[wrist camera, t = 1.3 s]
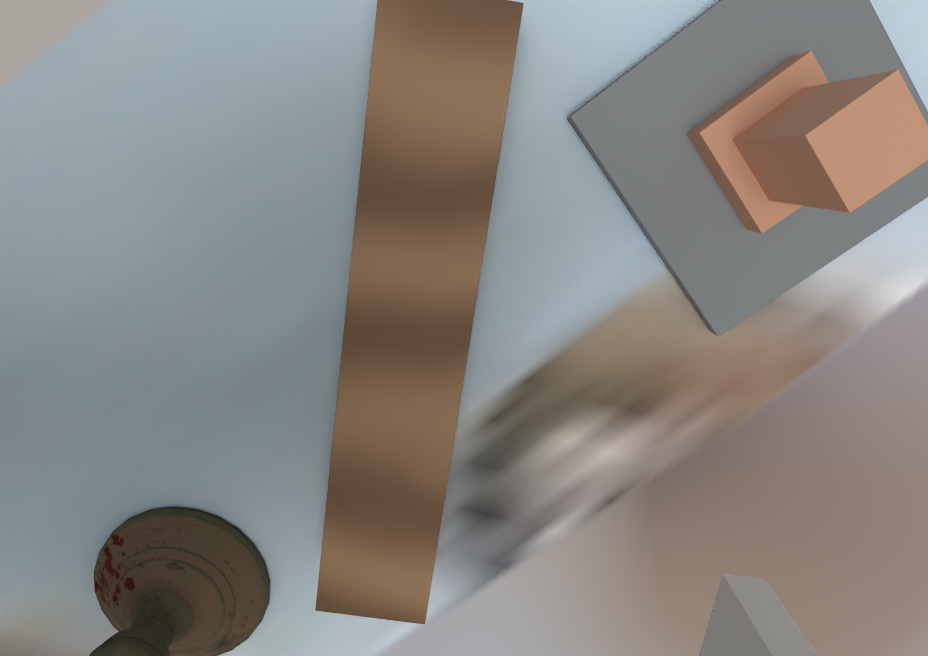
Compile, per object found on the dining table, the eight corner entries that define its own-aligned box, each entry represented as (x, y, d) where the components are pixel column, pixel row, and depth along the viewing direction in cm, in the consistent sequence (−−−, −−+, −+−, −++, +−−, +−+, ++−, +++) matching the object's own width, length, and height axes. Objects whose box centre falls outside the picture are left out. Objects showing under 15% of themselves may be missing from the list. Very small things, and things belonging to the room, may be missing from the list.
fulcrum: (710, 330, 30) (797, 393, 22) (567, 118, 27) (608, 103, 19) (943, 174, 28) (1129, 181, 20) (813, -72, 25) (969, -172, 17)
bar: (430, 556, 33) (424, 624, 28) (337, 543, 33) (315, 610, 28) (512, 31, 26) (523, 2, 22) (395, 11, 26) (379, -21, 21)
